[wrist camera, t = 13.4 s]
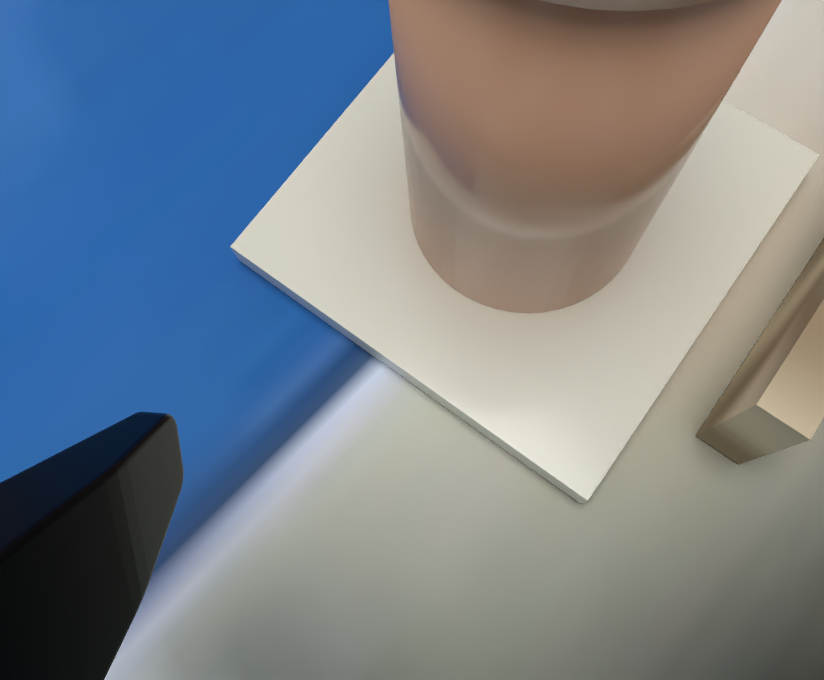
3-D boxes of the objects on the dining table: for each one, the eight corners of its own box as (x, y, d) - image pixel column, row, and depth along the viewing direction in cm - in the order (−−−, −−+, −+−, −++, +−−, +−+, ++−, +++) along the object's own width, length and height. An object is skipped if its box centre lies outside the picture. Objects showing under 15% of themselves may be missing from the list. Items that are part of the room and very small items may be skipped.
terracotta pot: (707, 204, 20) (1094, -335, 8) (528, 378, 19) (668, 57, 7) (522, 49, 22) (617, -598, 10) (347, 203, 21) (207, -309, 9)
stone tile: (580, 504, 19) (587, 500, 18) (240, 261, 21) (230, 246, 20) (802, 173, 21) (819, 154, 21) (473, -18, 24) (474, -43, 23)
